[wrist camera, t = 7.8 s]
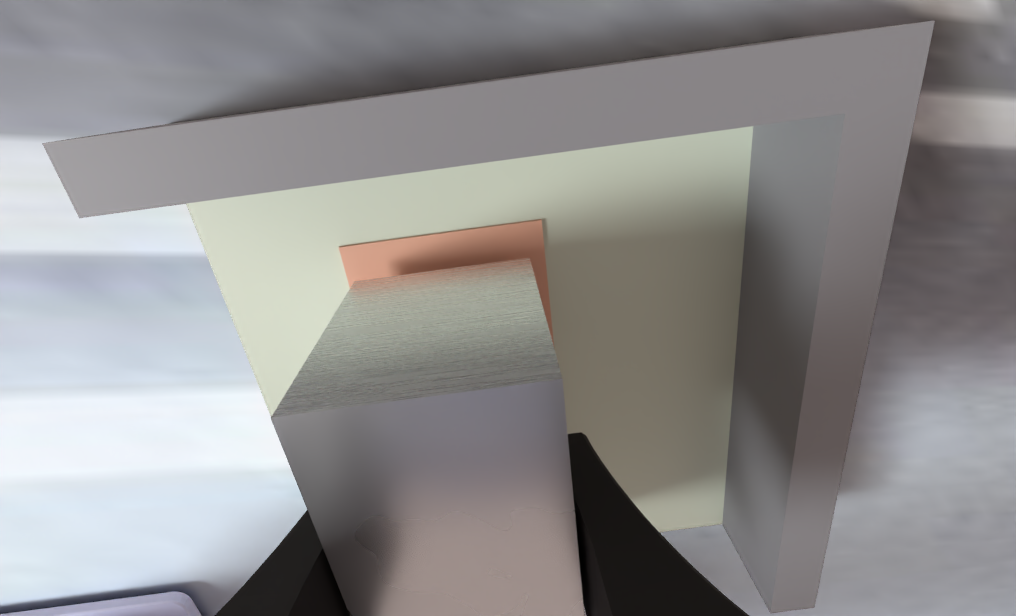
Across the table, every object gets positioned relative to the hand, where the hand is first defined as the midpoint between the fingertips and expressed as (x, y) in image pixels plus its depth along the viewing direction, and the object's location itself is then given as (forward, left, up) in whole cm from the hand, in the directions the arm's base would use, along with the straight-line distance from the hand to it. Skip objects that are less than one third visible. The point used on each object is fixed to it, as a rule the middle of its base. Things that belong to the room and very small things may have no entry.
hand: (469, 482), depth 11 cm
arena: (+1, -2, -3) cm, 4 cm away
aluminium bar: (0, 0, -2) cm, 2 cm away
